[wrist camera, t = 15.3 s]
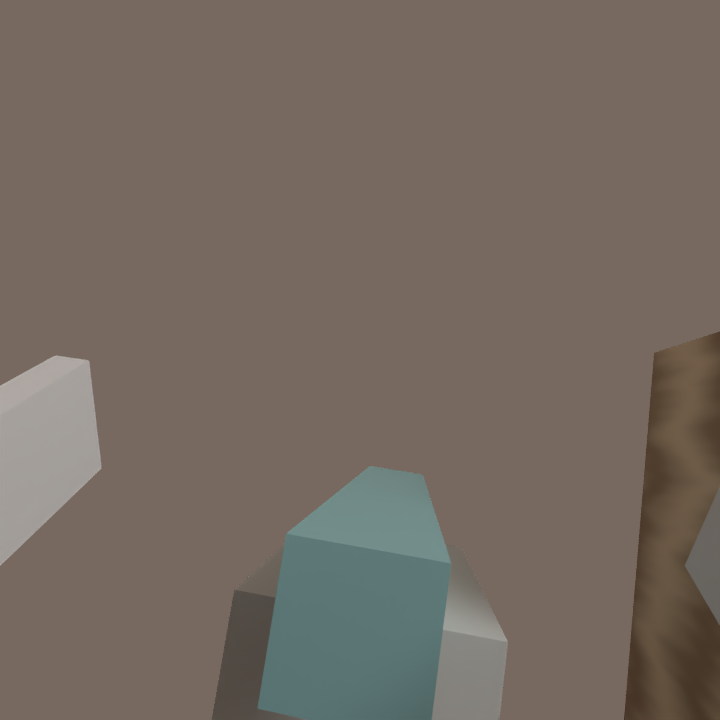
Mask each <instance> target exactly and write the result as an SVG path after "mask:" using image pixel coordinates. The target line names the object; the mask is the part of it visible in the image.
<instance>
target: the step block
mask: <svg viewBox="0 0 720 720" xmlns="http://www.w3.org/2000/svg"><path fill="white" fill-rule="evenodd" d="M445 546H446V549H447V552H448V555H449V558H450V561H451V569H450V577H449V585H448V593H447V601H446V609H445V617H444V625H443V633H442V641H441V649H440V657H439V665H438V673H437V681H436V689H435V697H434V705H433V713H432V720H499V717H500V708H501V699H502V690H503V680H504V672H505V663H506V653H507V645H508V642H507V640H506V637H505V636H504V633H503V631H502V629H501V627H500V625H499V623H498V621H497V619H496V617H495V615H494V613H493V611H492V609H491V607H490V605H489V603H488V601H487V599H486V597H485V595H484V593H483V591H482V588H481V586H480V584H479V582H478V580H477V579H476V576H475V574H474V572H473V570H472V568H471V566H470V564H469V562H468V560H467V558H466V556H465V554H464V552H463V550H462V548H461V547H457V546H452V545H446V544H445ZM283 550H284V545H283V546H282V547H281V548H280V549H279V550H277V551H276V552H275V553H274V554H273V555H272V556H271V557H270V558H269V559H268V560H266V561H265V562H264V563H263V564H262V565H261V566H260V567H259V568H258V569H256V570H255V571H254V572H253V573H252V574H251V575H250V576H249V577H248V578H247V579H246V580H244V581H243V582H242V583H241V584H240V585H239V586H238V587H237V588H236V589H235V590H234V595H233V601H232V607H231V612H230V618H229V624H228V630H227V635H226V641H225V646H224V653H223V658H222V664H221V669H220V675H219V681H218V686H217V692H216V698H215V704H214V709H213V715H212V720H307V719H302V718H298V717H293V716H289V715H284V714H280V713H275V712H271V711H266V710H262V709H257V708H258V702H259V696H260V690H261V684H262V678H263V672H264V666H265V660H266V653H267V647H268V641H269V635H270V629H271V623H272V617H273V611H274V605H275V599H276V593H277V587H278V581H279V574H280V568H281V562H282V556H283Z"/></svg>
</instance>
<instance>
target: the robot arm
mask: <svg viewBox="0 0 720 720" xmlns="http://www.w3.org/2000/svg"><path fill="white" fill-rule="evenodd" d="M101 468H102V467H101V459H100V451H99V442H98V433H97V425H96V416H95V408H94V399H93V392H92V382H91V374H90V366H89V360H83V359H76V358H69V357H62V356H56V355H55V356H54V357H52V358H50V359H48V360H46V361H45V362H43V363H41V364H39V365H37V366H35V367H34V368H32V369H30V370H28V371H26V372H25V373H23V374H21V375H19V376H17V377H15V378H14V379H12V380H10V381H8V382H6V383H5V384H3V385H1V386H0V565H1V564H2V563H3V562H4V561H5V560H7V559H8V557H10V556H11V555H12V554H13V553H14V552H15V551H16V550H17V549H18V548H19V547H20V546H21V545H22V544H23V543H24V542H25V541H26V540H27V539H28V538H29V537H30V536H31V535H32V534H33V533H34V532H36V531H37V530H38V529H39V528H40V527H41V526H42V525H43V524H44V523H45V522H46V521H47V520H48V519H49V518H50V517H51V516H52V515H53V514H54V513H55V512H56V511H58V510H59V509H60V508H61V507H62V506H63V505H64V504H65V503H66V502H67V501H68V500H69V499H70V498H71V497H72V496H73V495H74V494H75V493H76V492H77V491H78V490H79V489H80V488H81V487H82V486H84V485H85V484H86V482H87V481H89V479H91V478H92V477H93V476H94V475H95V474H96V473H97V472H98V471H99V470H100V469H101ZM685 567H686V569H687V571H688V572H689V574H690V576H691V578H692V579H693V581H694V583H695V584H696V586H697V588H698V589H699V591H700V593H701V595H702V596H703V598H704V600H705V601H706V603H707V605H708V606H709V608H710V610H711V612H712V613H713V615H714V617H715V618H716V620H717V622H718V624H719V625H720V487H719V489H718V491H717V494H716V496H715V498H714V500H713V503H712V505H711V507H710V509H709V512H708V514H707V516H706V518H705V521H704V523H703V525H702V528H701V530H700V532H699V534H698V537H697V539H696V541H695V543H694V546H693V548H692V550H691V552H690V555H689V557H688V559H687V561H686V564H685Z"/></svg>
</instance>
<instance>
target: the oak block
mask: <svg viewBox="0 0 720 720" xmlns="http://www.w3.org/2000/svg"><path fill="white" fill-rule="evenodd" d="M719 487H720V332H717V333H714V334H711V335H708V336H705V337H702V338H699V339H696V340H693V341H690V342H686V343H683V344H680V345H677V346H674V347H671V348H668V349H665V350H662V351H659V352H656V353H654V363H653V375H652V387H651V399H650V411H649V423H648V435H647V448H646V460H645V472H644V484H643V496H642V508H641V521H640V533H639V545H638V557H637V558H638V559H637V569H636V581H635V594H634V606H633V618H632V630H631V643H630V656H629V667H628V679H627V691H626V692H627V693H626V704H625V716H624V720H720V625H719V624H718V622H717V620H716V618H715V617H714V615H713V613H712V612H711V610H710V608H709V606H708V605H707V603H706V601H705V600H704V598H703V596H702V595H701V593H700V591H699V589H698V588H697V586H696V584H695V583H694V581H693V579H692V578H691V576H690V574H689V572H688V571H687V569H686V567H685V564H686V561H687V559H688V557H689V555H690V552H691V550H692V548H693V546H694V543H695V541H696V539H697V537H698V534H699V532H700V530H701V528H702V525H703V523H704V521H705V518H706V516H707V514H708V512H709V509H710V507H711V505H712V503H713V500H714V498H715V496H716V494H717V491H718V489H719Z"/></svg>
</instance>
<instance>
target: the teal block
mask: <svg viewBox="0 0 720 720" xmlns="http://www.w3.org/2000/svg"><path fill="white" fill-rule="evenodd" d="M450 569H451V561H450V558H449V555H448V552H447V549H446V546H445V543H444V539H443V536H442V533H441V530H440V527H439V524H438V521H437V518H436V515H435V512H434V509H433V505H432V502H431V499H430V496H429V493H428V490H427V487H426V484H425V481H424V477H423V475H422V474H416V473H409V472H404V471H398V470H391V469H385V468H379V467H373V466H370V467H368V468H367V469H366V470H365V471H363V472H362V473H361V474H360V475H358V476H357V477H356V478H355V479H353V480H352V481H351V482H350V483H348V484H347V485H346V486H345V487H344V488H342V489H341V490H340V491H339V492H337V493H336V494H335V495H334V496H333V497H331V498H330V499H329V500H327V501H326V502H325V503H324V504H322V505H321V506H320V507H319V508H318V509H316V510H315V511H314V512H312V513H311V514H310V515H309V516H308V517H306V518H305V519H304V520H303V521H301V522H300V523H299V524H298V525H296V526H295V527H294V528H293V529H291V530H290V531H289V532H288V533H287V534H286V538H285V544H284V550H283V556H282V562H281V568H280V574H279V581H278V587H277V593H276V599H275V605H274V611H273V617H272V623H271V629H270V635H269V641H268V647H267V653H266V660H265V666H264V672H263V678H262V684H261V690H260V696H259V702H258V708H257V709H262V710H266V711H271V712H275V713H280V714H284V715H289V716H293V717H298V718H302V719H307V720H432V713H433V705H434V697H435V689H436V681H437V673H438V665H439V657H440V649H441V641H442V633H443V625H444V617H445V609H446V601H447V593H448V585H449V577H450Z"/></svg>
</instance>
